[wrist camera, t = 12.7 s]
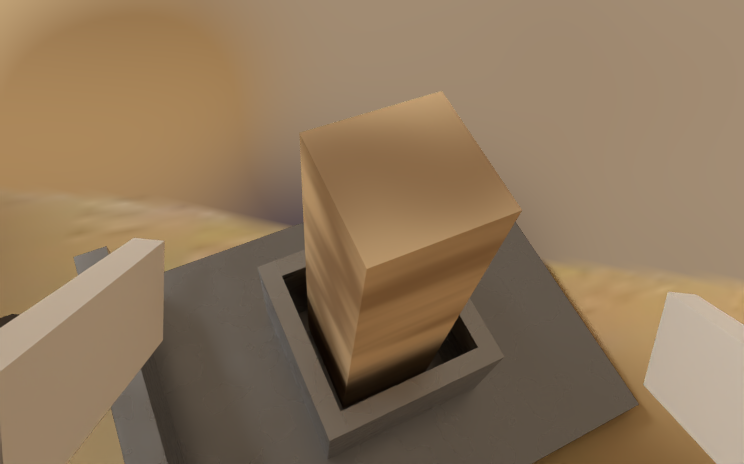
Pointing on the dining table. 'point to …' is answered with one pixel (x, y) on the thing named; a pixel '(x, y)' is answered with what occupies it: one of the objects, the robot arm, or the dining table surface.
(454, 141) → the wooden block
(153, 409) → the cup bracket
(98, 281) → the robot arm
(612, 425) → the dining table surface
